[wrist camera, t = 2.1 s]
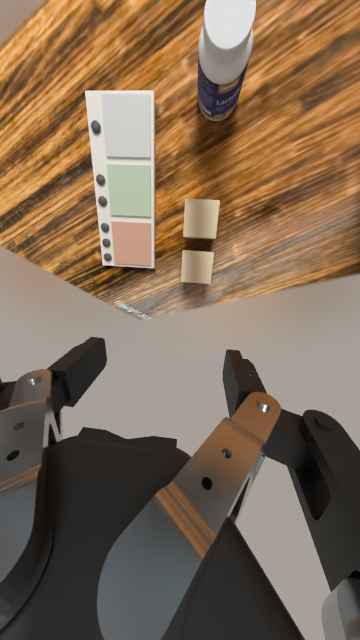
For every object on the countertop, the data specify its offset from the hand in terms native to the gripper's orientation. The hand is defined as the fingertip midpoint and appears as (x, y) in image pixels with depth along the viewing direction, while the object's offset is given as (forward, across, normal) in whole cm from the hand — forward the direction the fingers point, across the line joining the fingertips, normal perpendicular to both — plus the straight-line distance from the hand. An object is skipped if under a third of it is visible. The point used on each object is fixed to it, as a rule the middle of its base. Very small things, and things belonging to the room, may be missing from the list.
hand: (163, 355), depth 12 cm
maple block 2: (+26, -2, -4) cm, 26 cm away
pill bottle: (+26, -3, -27) cm, 37 cm away
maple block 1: (+26, -2, -11) cm, 28 cm away
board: (+26, +11, -15) cm, 32 cm away
